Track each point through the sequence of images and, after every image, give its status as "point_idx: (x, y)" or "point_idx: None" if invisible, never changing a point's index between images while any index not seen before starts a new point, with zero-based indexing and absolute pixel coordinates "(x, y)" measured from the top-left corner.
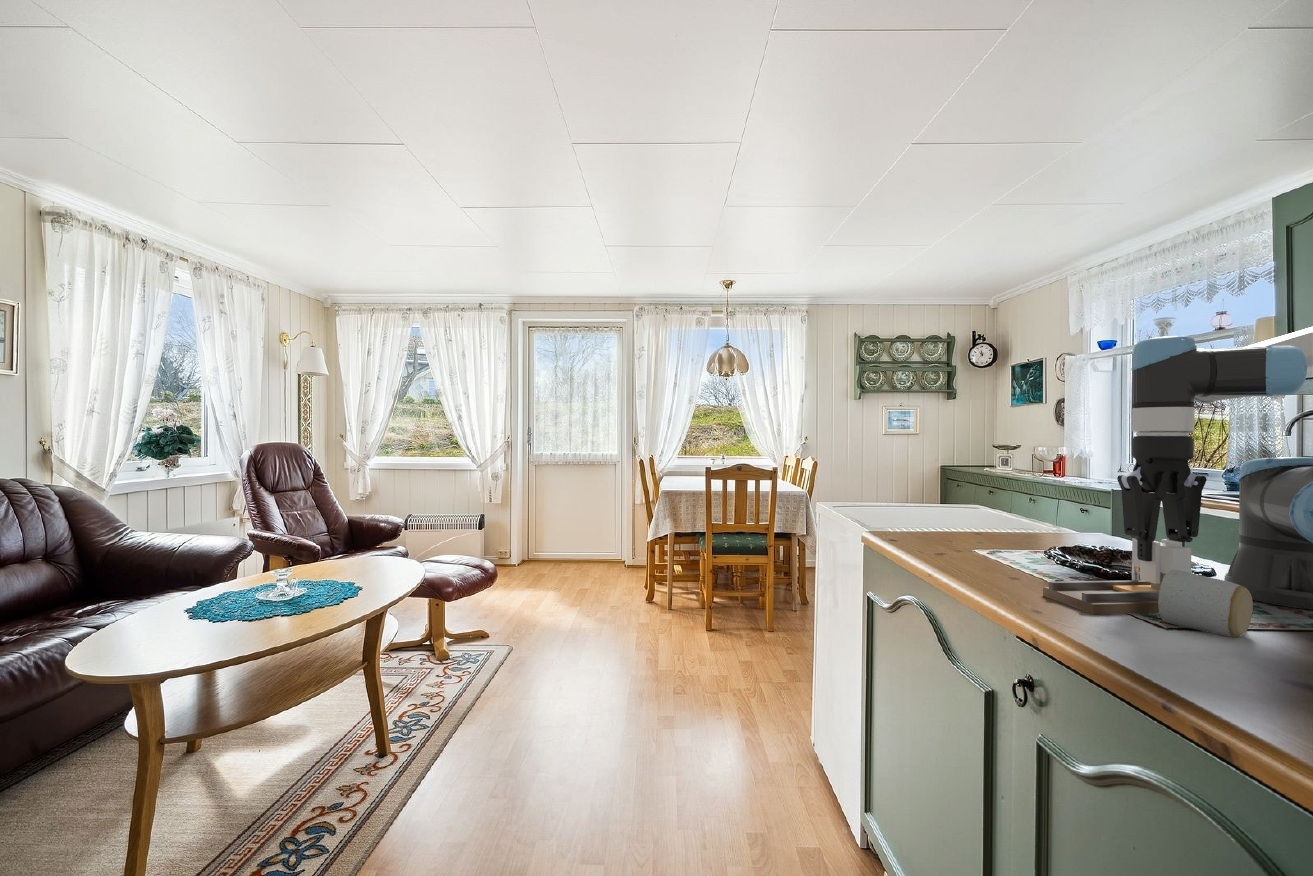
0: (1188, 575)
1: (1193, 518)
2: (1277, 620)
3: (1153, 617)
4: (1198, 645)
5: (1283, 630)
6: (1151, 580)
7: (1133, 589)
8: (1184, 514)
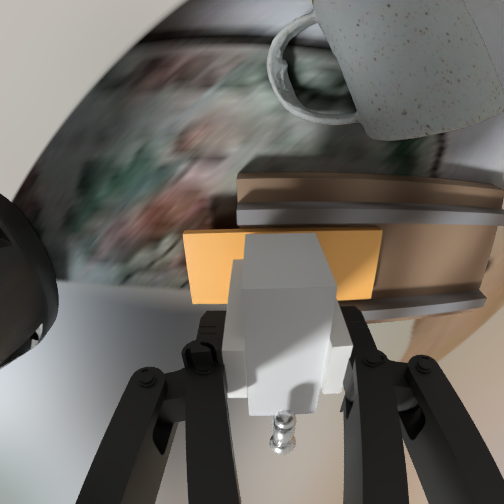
0: (480, 62)
1: (136, 441)
2: (114, 113)
3: (405, 147)
4: (465, 3)
5: (181, 36)
6: None
7: (356, 266)
8: (190, 467)
